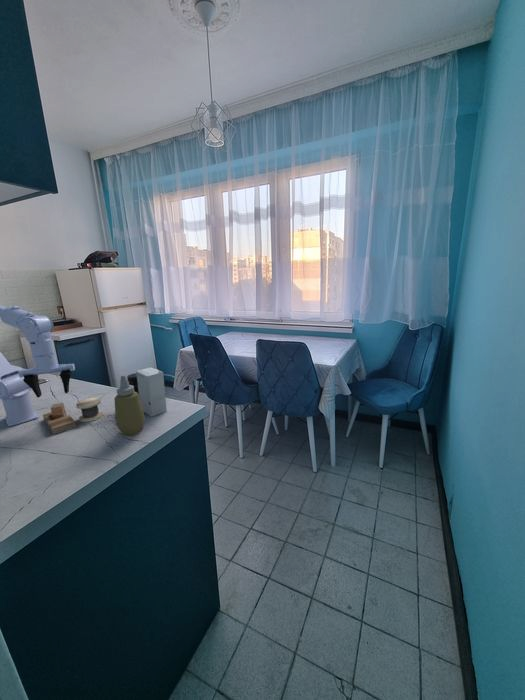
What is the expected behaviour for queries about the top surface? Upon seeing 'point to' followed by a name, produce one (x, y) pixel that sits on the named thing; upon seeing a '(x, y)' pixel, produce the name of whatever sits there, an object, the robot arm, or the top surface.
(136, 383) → the supplement bottle
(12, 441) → the top surface
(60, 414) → the brown wooden block
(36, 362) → the robot arm
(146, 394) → the skincare box
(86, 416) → the spool
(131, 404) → the squeeze bottle
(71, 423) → the notched board
